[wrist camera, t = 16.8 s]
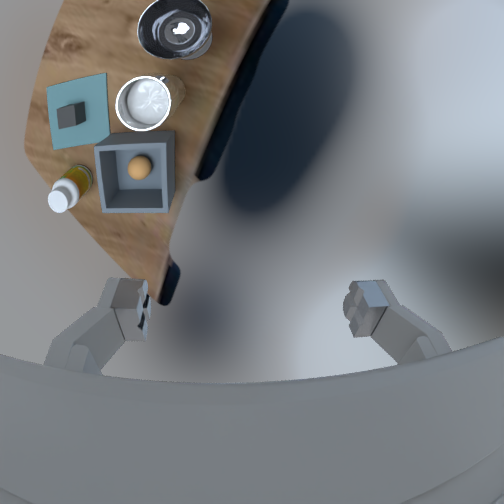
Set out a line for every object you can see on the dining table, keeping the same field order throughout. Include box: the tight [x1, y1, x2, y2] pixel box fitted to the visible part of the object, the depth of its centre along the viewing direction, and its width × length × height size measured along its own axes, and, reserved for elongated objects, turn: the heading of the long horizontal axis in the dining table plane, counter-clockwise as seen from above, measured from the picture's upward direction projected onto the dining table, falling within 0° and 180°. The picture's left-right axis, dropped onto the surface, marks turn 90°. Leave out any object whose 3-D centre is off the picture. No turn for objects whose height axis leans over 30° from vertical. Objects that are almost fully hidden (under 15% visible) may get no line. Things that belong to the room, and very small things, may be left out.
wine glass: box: [137, 0, 212, 60], centre depth 28 cm, size 8×8×15 cm
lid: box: [47, 73, 110, 150], centre depth 37 cm, size 12×12×5 cm
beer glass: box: [115, 73, 185, 132], centre depth 33 cm, size 7×7×15 cm
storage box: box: [94, 131, 175, 213], centre depth 42 cm, size 11×11×8 cm
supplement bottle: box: [48, 165, 92, 213], centre depth 41 cm, size 5×5×10 cm
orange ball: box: [127, 156, 151, 180], centre depth 43 cm, size 4×4×4 cm
